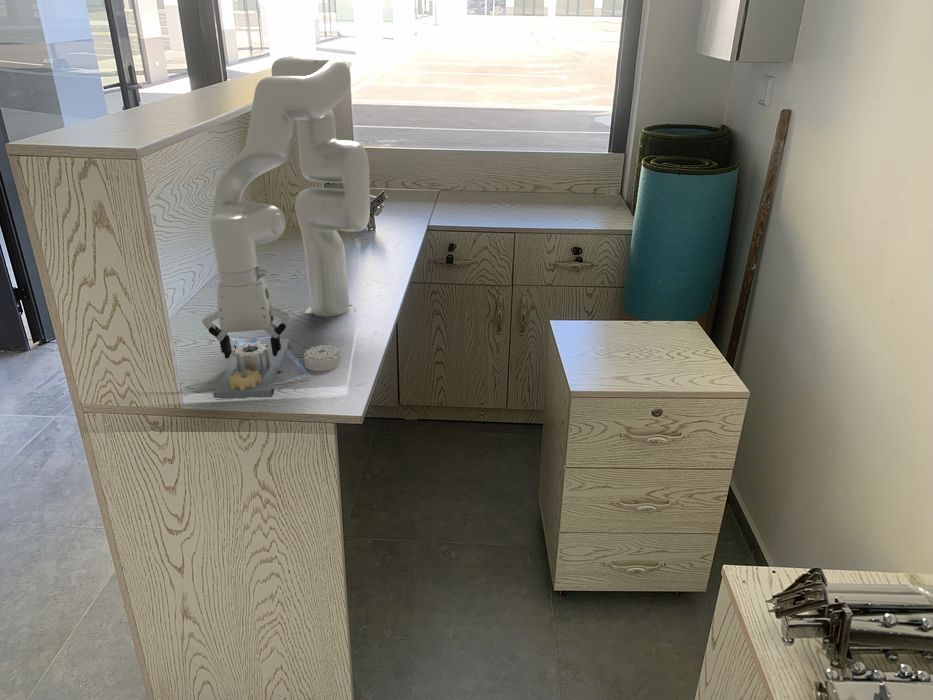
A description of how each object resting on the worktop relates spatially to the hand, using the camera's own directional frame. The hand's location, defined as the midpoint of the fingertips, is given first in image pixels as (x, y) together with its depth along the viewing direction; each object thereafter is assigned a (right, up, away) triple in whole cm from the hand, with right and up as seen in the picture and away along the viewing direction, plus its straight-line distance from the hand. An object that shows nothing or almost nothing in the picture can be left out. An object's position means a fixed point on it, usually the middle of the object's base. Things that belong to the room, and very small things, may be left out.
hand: (252, 354), depth 144 cm
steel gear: (0, -2, +1) cm, 3 cm away
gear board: (0, -3, +3) cm, 4 cm away
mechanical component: (+14, -3, +3) cm, 15 cm away
